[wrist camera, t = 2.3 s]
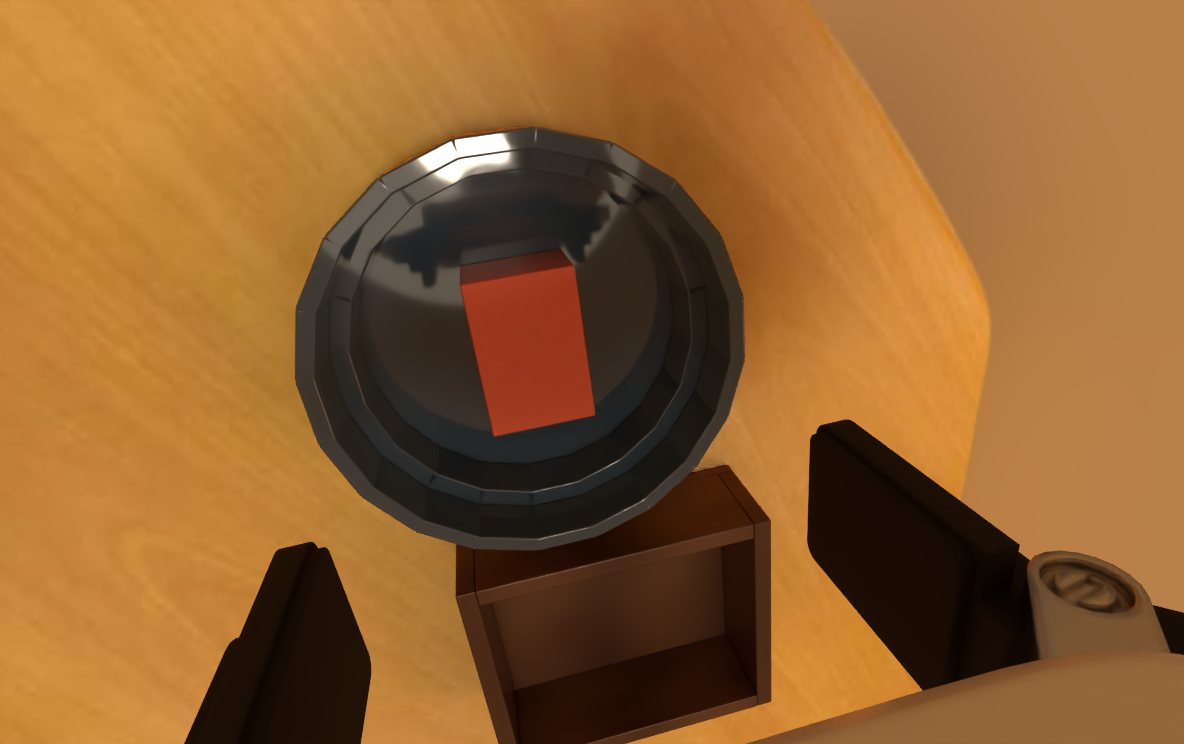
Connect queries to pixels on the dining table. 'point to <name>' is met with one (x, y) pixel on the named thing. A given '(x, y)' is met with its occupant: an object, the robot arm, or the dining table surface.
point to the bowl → (446, 355)
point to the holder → (626, 621)
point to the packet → (528, 340)
